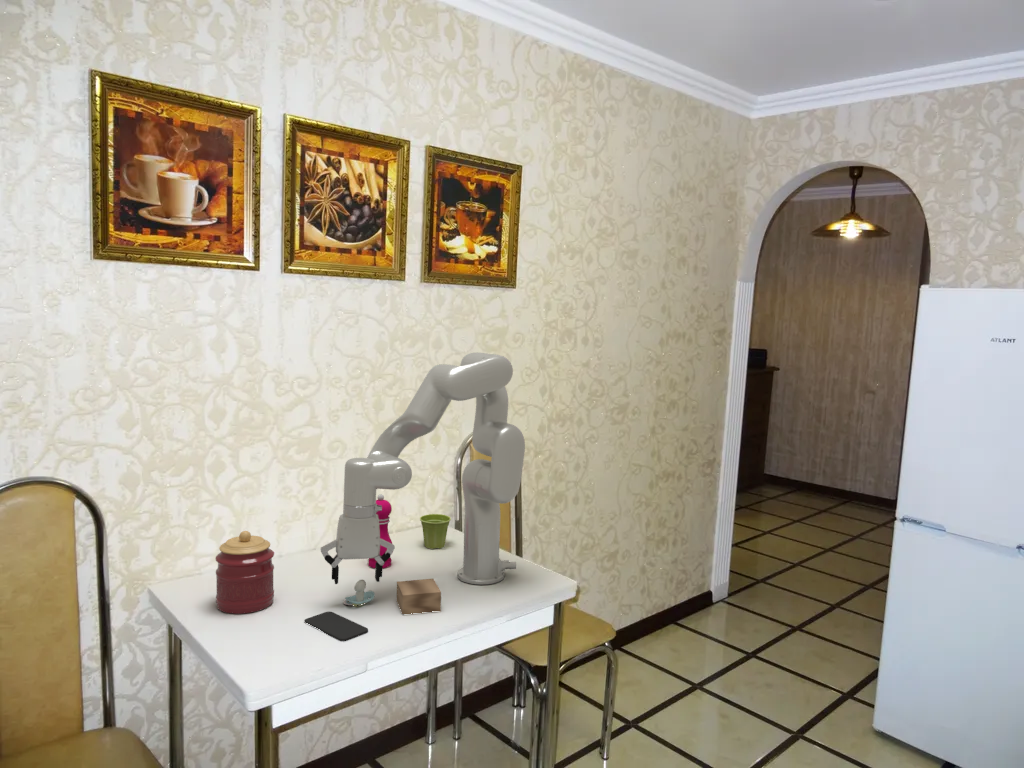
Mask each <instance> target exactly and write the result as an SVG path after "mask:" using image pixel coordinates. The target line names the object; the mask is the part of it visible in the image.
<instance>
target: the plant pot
mask: <svg viewBox="0 0 1024 768" xmlns="http://www.w3.org/2000/svg"><path fill="white" fill-rule="evenodd" d="M419 521H420V523H421V526H422V527H421V528H422V534H423V545H424V547H425V548H427V549H430V550H434V549H443V548H444V547H445V546H446V541H447V535H448V528H449V525H450V522H451V521H452V518H451V516H449V515H446V514H443V513H441V514H440V513H428V514H424V515H422V516H420V517H419Z"/></svg>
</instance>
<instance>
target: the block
mask: <svg viewBox="0 0 1024 768" xmlns="http://www.w3.org/2000/svg"><path fill="white" fill-rule="evenodd" d="M396 600H397V601H396V603H397V602H398V603H397V605H398V604H399V605H398V607H400V608H399V610H400V609H401V610H400V612H402V613H401V615H402V614H411V613H412V614H411V615H414V614H413V613H421V614H423V613H422V612H431V613H433V612H432V611H442V610H441V609H442V591H441V589H440V587H439V586H438V584H437V582H436V580H435V579H434V578H424V579H410V580H399V581H398V580H397V581H396Z"/></svg>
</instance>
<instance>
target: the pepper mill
mask: <svg viewBox="0 0 1024 768" xmlns="http://www.w3.org/2000/svg"><path fill="white" fill-rule="evenodd" d="M376 504H377V505H382V511H378V512H377V513H376V514H377V515H378V518H379V528H380V538H381V539H383V540H385V541H387V542H389V543H391V544H393V541H392V539H391V537H390V534H389V533H390V532H389V527H388V526H389V523H390V522H391V521H390V514H391V513H392V510H393V509H392V505H391V502H390V501H388V500H387V499H385V496H384V494H383V493H380V494H378V495H377V499H376ZM386 551H387V548H386V547H384V546H381V545H380V556H382V555H383V554H384V553H385V552H386ZM393 553H394V551H393V552H392V554H393ZM376 562H377V561H376V560H375V559H374V558H368V567H369V566H370V567H369V568H371V567H372V569H375V565H376ZM391 565H392V557H391V556H390V558H389V559H388V560H387V561H386V562H385V563H384V565H383V568H382V569H387V568H389V567H391Z"/></svg>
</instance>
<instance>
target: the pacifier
mask: <svg viewBox="0 0 1024 768" xmlns="http://www.w3.org/2000/svg"><path fill="white" fill-rule="evenodd" d="M366 587H367V582H366V580H365V579H359V580H358V581H357V582H356V583H355V585H354V591H355V595H350V596H346V597H345V598H344V600H343V602H342V603H343V604H344V605H346V606H352V605H354V606H353V607H358V606H357V605H361V604H364V603H366V604H367V603H370V602H371V601H373V600H374V598H375V595H376V594H375V592H374V591H372V590H369V591H368V590H367V591H365V589H366ZM348 601H349V602H348Z"/></svg>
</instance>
